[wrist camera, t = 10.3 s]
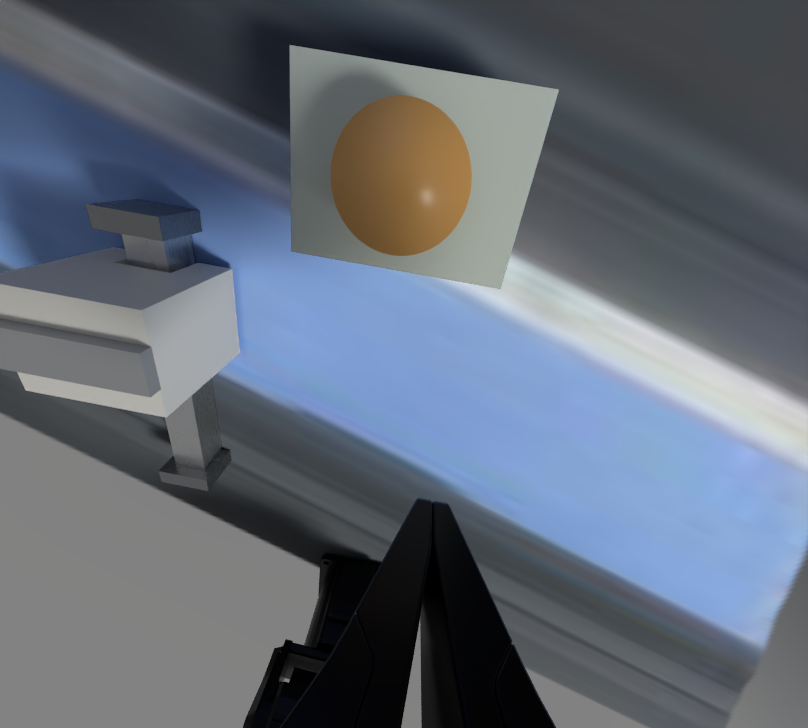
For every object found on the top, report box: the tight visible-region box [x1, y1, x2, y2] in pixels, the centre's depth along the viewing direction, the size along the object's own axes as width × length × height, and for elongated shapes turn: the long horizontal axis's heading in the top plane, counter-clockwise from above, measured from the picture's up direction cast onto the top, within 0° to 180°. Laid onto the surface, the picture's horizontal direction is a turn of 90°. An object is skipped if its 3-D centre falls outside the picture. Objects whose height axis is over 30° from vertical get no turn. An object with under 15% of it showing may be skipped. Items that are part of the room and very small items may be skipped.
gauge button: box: [330, 95, 472, 256], centre depth 11 cm, size 4×4×3 cm
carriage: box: [0, 247, 240, 418], centre depth 17 cm, size 5×6×7 cm
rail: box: [85, 199, 231, 491], centre depth 20 cm, size 17×3×3 cm, turn 171°
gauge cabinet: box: [290, 45, 559, 289], centre depth 14 cm, size 6×8×4 cm
